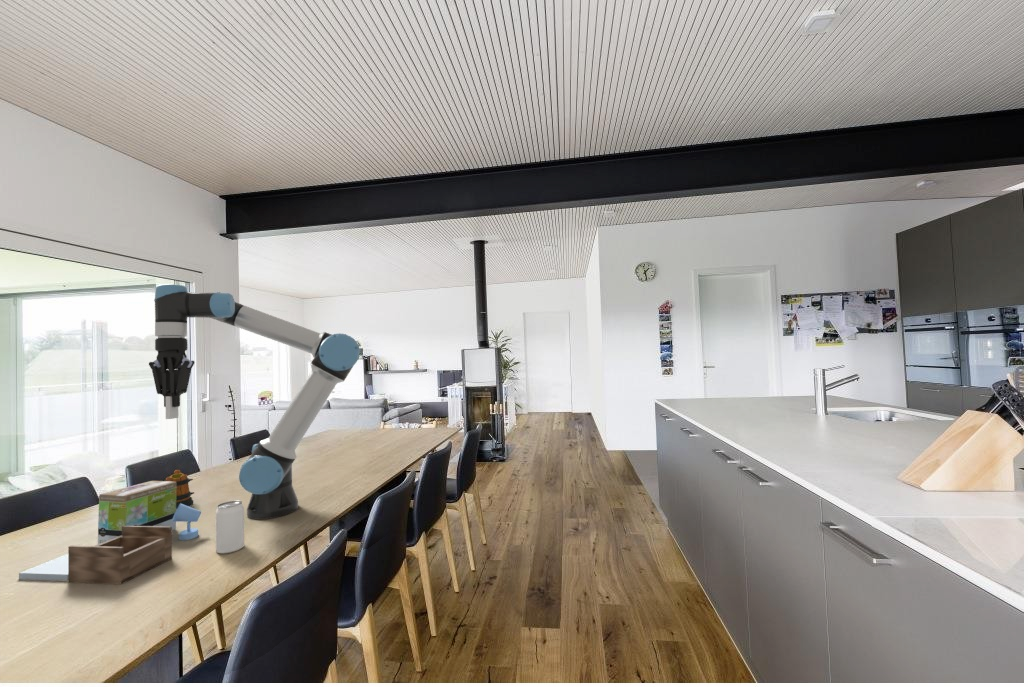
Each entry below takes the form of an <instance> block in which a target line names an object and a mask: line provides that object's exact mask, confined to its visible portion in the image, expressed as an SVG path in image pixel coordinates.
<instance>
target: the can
mask: <svg viewBox="0 0 1028 687" xmlns="http://www.w3.org/2000/svg"><path fill="white" fill-rule="evenodd" d="M242 503H243V501H242V500H230V501H225V502H222V503H220V504H218V505H217V506H216V507H217V508H216V510H215V551H216V553H218V554H220V555H222V554H223V555H225V554H232V553H234V552H237V551H240V550H242V548H244V546H245V507H244V505H243V504H242Z"/></svg>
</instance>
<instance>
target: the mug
mask: <svg viewBox="0 0 1028 687" xmlns="http://www.w3.org/2000/svg"><path fill="white" fill-rule="evenodd" d="M193 480H194V479H193V478H188V475H187V474H185V473H182V472H181V470H180V469H175V470H174V472H173V474H172V475H170V476H167V477H166V478H165V481H171V482H176V487H177V489H176V510H177V508H178V506H179V505H180V503H181V504H184V505H186V506H189V507H191V506H193V504H194V500H193V497H192V495H194V494H195V492H193V491H190V486H189V483H190V482H191V481H193Z"/></svg>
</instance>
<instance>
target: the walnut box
mask: <svg viewBox="0 0 1028 687" xmlns="http://www.w3.org/2000/svg"><path fill="white" fill-rule="evenodd" d="M172 531H173V530H172V527H169V526H122V535H121V536H118V537H116V538H113V539H110V540H108V541H105V542H103V543H100V544H98V543H97V544H95V545H70V546H68V553H67V554H68V581H67V582H68V583H77V584H78V583H79V584H81V583H82V584H102V585H123V584H124V583H127V582H129V581H131V580H133V579H135V578H137V577H139V576H141V575H143V574H145V573H147V572H148V571H150V570H152V569H154V568H156V567H158V566H161V565H162V564H165V563H167V562H169V561H170V560H172V559H173V546H172V544H173V542H172V541H173V540H172V539H173V538H172V536H173V535H172V534H173V532H172Z"/></svg>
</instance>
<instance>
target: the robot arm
mask: <svg viewBox="0 0 1028 687" xmlns="http://www.w3.org/2000/svg"><path fill="white" fill-rule="evenodd" d="M154 292H155V293H154V300H153V301H154V318H155V319H154V336H155V337H157V338H156V339H154V343H155V344H154V345H155V346H154V349H155V351H156V352H157V356H156V359H155V360H153V361H149V363H148V366H149V367H150V369H151V371H152V377H153V381H154V385H155V390H156V394H158V395H161V396H163V407H164V408H165V419H166V420H173V419H179V408H180V406H181V395H183V394H186V393H187V392H188V388H189V382H190V378H191V371H192V369H193V367H194V365H195V361H194V360H190V359H189V358H188V357H187V354H186V351H188V338H186V337H187V336H188V318H203V319H205V318H206V319H207V318H209V319H213V320H216V321H218V322H221V323H223V324H227V325H230V326H233V327H237V328H239V329H241V330H244V331H247V332H250V333H253V334H256V335H259V336H261V337H264V338H267V339H269V340H272V341H274V342H278V343H281V344H284V345H287V346H289V347H292V348H294V349H296V350H297V349H298V350H301V351H303V352H306V353H308V354H311V355H312V357H313V358H312V361H310V368H311V371H310V373H309V374H308V376H307V378H306V379H305V380H304V381H303V384H302V386H301V387H300V388H299V390H298V392H297V393H296V394H295V396H294V398H293V399H292V401H291V403H290V404H289V405H288V407H287V408H286V410H285V411H284V413H283V415H282V416H281V418H280V419H279V421H278V423H277V424H276V426H275V427H274V429H272V430H273V431H272V432H271V433H270V435H269V436H268V437H267V438H264V439H262V440H260V441H259V442H258V443H255V444H253V445H252V449H251V455H249V458H248V459H247V460H245V462H244V463H243V464H242V465H241V467H240V470H239V473H238V480H239V483H240V485H241V487H242V488H243V489H244V490H245V491H246V492H248V493H250V494H251V496H250V499H249V502H248V506H247V508H246V515H247V516H246V517H247V518H249V519H251V520H252V519H253V520H265V519H266V520H267V519H274V518H279V517H283V516H286V515H289V514H292V513H294V512H295V511H296V510H298V509H299V500H298V497H297V494H296V492H295V489H294V486H293V463H294V462H295V460H296V458H297V454H296V449H297V448H298V446H299V444H300V443H301V441H302V440H303V438H304V436H305V435H306V433H307V432H308V430H309V429H310V427H311V425H312V424H313V422H314V420H316V417H317V416H318V415H319V413H320V411H321V409H322V408H323V406H324V404H325V403H326V402H327V399H328V398H329V396H330V395H331V394H332V392H333V390H334V389H335V387H336V385H337V384H339V383H343V382H344V381H345V380H346V379H347V377H348V376H349V374H350V372H351V370H353V367H354V366H355V365H356V364H357V362H358V361H359V359H360V354H361V349H360V346H359V345H360V344H358V342H357V341H356V340H355V339H354V338H353V337H352V336H350V335H348V334H346V333H334V334H332V333H330V332H326V331H323V332H317V331H315V330H312V329H309V328H308V327H307V328H306V327H304V326H301V325H298V324H295V323H293V322H290V321H287V320H285V319H282V318H280V317H276V316H274V315H272V314H268V313H267V312H263V311H260V310H257V309H255V308H252V307H250V306H247V305H244V304H242V303H238V302H236V301H235V298H234V296H233V295H232V294H231V293H230V292H229V293H228V292H220V291H219V292H218V291H217V292H190V291H188V288H187V287H186V285H185V286H184V285H181V284H171V283H163V284H159V285H156V287H155V291H154Z"/></svg>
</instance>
